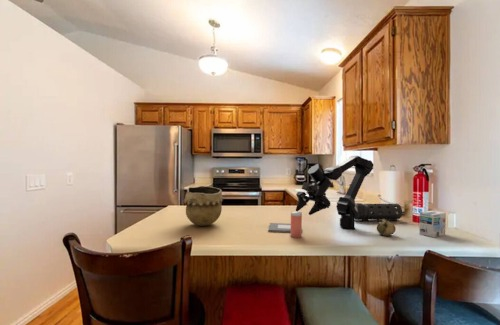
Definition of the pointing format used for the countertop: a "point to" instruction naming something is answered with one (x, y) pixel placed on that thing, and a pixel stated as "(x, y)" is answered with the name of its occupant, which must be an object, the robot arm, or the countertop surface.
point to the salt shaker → (296, 224)
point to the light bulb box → (432, 223)
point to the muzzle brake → (378, 211)
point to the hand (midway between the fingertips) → (302, 212)
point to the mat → (279, 227)
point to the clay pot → (203, 204)
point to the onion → (385, 228)
